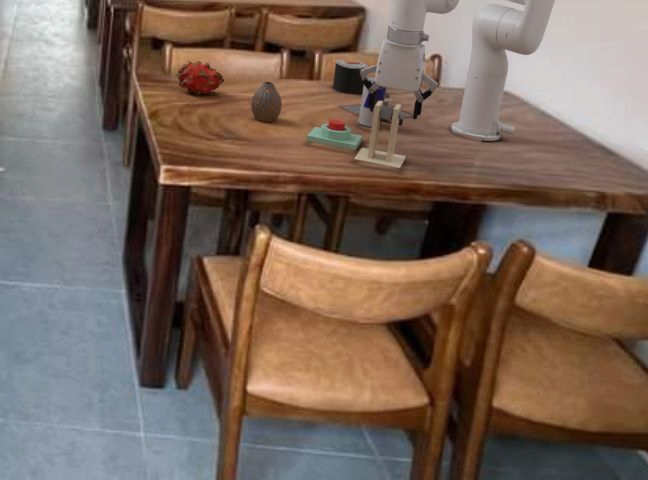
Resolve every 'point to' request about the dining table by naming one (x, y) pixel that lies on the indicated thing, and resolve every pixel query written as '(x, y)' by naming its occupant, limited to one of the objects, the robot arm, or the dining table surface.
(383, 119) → the lever
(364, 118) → the energy drink
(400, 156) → the bracket
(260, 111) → the vase
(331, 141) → the switch block
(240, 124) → the dining table surface
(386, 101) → the architectural model
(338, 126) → the button
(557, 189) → the dining table surface
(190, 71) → the dragon fruit
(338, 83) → the sushi
